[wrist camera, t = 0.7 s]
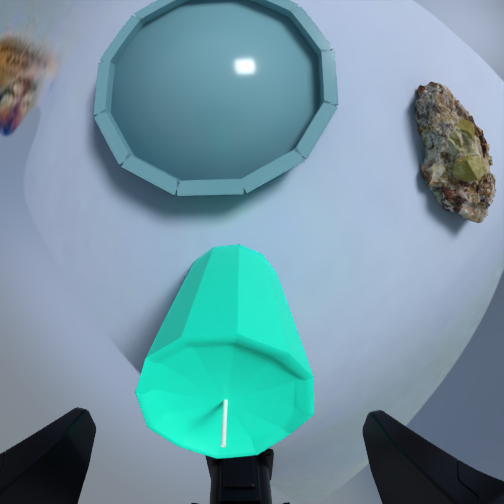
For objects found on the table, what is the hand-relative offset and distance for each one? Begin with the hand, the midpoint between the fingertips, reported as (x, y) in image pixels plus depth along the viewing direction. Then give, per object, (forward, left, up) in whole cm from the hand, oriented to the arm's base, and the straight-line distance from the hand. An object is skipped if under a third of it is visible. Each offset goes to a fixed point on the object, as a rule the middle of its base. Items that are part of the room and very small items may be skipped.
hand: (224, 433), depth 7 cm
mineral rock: (+10, -16, -12) cm, 23 cm away
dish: (+13, +1, -11) cm, 17 cm away
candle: (0, 0, -12) cm, 12 cm away
